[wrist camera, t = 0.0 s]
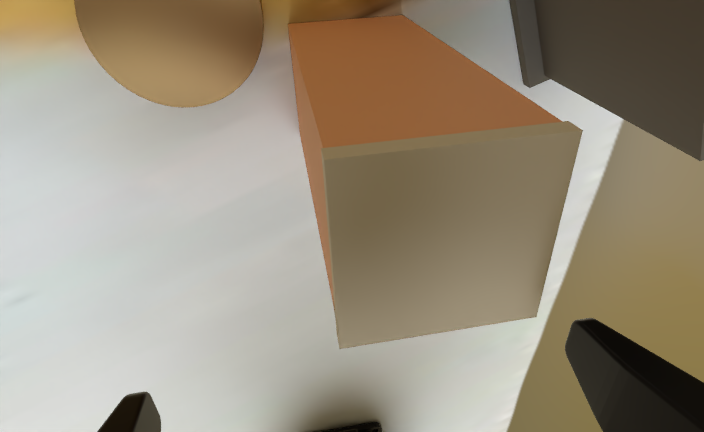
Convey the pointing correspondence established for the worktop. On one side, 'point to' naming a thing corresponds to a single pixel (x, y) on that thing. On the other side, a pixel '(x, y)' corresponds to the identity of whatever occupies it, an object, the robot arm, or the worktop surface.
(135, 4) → the coaster
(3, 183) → the worktop surface
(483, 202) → the tin
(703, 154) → the screen
